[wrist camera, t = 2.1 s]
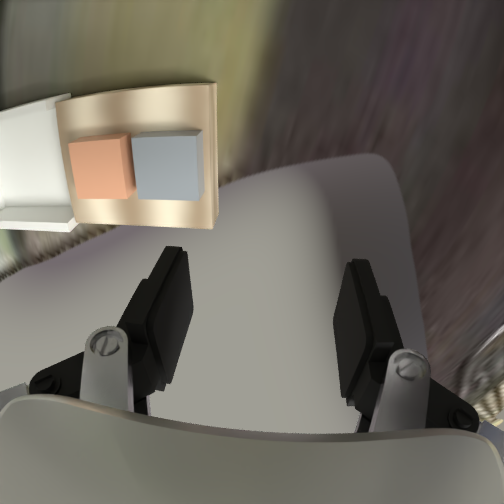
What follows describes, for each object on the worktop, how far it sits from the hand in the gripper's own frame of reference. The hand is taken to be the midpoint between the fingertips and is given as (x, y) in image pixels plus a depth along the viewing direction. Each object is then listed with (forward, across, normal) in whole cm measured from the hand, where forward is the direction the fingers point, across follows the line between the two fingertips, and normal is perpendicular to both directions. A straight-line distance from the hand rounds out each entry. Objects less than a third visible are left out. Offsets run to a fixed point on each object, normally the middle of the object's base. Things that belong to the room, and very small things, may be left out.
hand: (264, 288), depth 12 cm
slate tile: (+15, +8, 0) cm, 17 cm away
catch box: (+18, +26, 0) cm, 32 cm away
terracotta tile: (+15, +14, 0) cm, 20 cm away
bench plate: (+18, +12, 0) cm, 21 cm away
